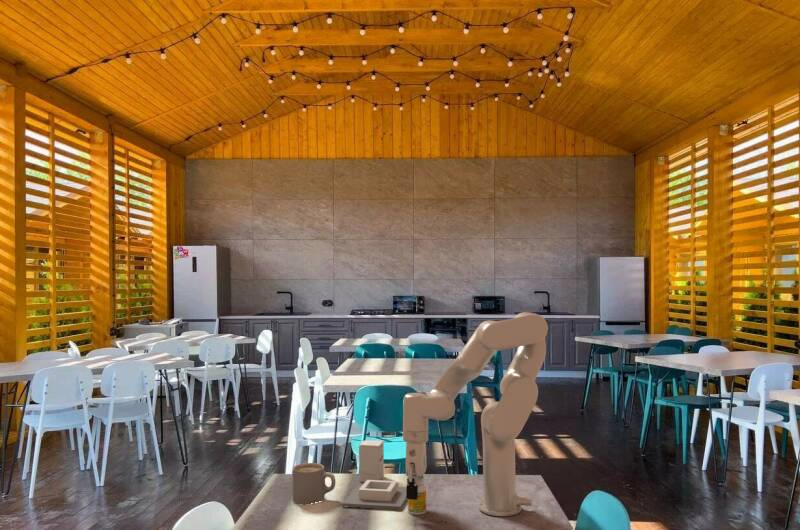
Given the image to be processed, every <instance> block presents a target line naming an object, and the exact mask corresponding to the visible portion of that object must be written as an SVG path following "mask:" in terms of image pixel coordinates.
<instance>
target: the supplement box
mask: <svg viewBox="0 0 800 530" xmlns="http://www.w3.org/2000/svg"><path fill="white" fill-rule="evenodd" d="M384 449H385V448H384V440H367V439H366V440H363V441H362V442H361V443H360V444H359V445H358V470H359V471H358V474H359V475H358V476H359V478H358V480H359V481H358V482H359V483H365V482H366V480H382V479H383V478H384V475H385V473H384V472H385V471H384V470H385V467H384V465H385V464H384V463H385V461H384V460H385V456H384V455H385V453H384V452H385V451H384Z"/></svg>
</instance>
